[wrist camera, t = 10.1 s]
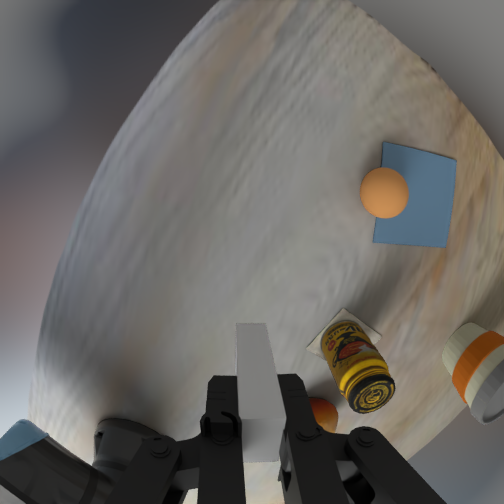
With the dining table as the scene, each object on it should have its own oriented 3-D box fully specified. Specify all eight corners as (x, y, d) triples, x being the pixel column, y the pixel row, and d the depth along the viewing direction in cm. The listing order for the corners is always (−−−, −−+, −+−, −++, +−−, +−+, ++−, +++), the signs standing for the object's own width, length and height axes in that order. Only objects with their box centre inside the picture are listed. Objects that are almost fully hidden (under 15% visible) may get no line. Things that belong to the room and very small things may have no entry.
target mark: (372, 242, 33) (373, 242, 33) (382, 142, 30) (383, 141, 29) (444, 247, 34) (445, 247, 33) (455, 160, 30) (456, 160, 30)
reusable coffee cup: (486, 345, 40) (530, 388, 25) (438, 384, 41) (477, 437, 27) (482, 299, 37) (540, 341, 22) (428, 343, 38) (480, 401, 24)
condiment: (342, 307, 35) (380, 363, 24) (381, 336, 37) (421, 389, 25) (305, 347, 37) (326, 412, 25) (346, 371, 38) (374, 430, 27)
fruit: (286, 392, 37) (322, 431, 31) (321, 382, 42) (355, 414, 36) (264, 426, 39) (294, 462, 33) (299, 414, 44) (328, 445, 38)
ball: (381, 214, 33) (346, 210, 31) (387, 170, 31) (353, 161, 29) (413, 225, 28) (379, 221, 26) (421, 175, 26) (388, 165, 24)
